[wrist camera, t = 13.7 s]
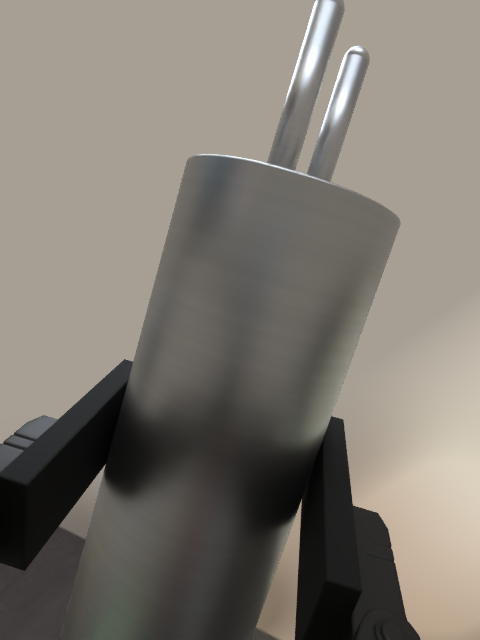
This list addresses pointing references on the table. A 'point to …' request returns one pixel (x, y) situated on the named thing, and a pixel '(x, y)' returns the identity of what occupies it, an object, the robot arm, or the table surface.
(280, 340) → the cylinder
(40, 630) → the table surface
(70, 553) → the table surface
